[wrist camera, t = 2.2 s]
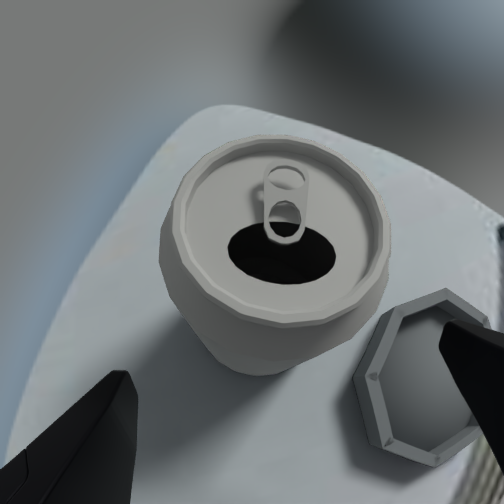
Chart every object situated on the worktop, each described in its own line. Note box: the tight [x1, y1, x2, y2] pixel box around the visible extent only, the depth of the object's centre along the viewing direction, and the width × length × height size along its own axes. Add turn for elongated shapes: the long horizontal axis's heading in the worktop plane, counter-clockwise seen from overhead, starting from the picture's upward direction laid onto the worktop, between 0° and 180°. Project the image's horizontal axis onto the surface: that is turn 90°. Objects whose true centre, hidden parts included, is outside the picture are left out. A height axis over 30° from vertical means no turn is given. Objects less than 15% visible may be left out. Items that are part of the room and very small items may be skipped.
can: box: [159, 135, 391, 376], centre depth 13 cm, size 8×8×12 cm
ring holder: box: [353, 288, 492, 467], centre depth 16 cm, size 12×12×2 cm
